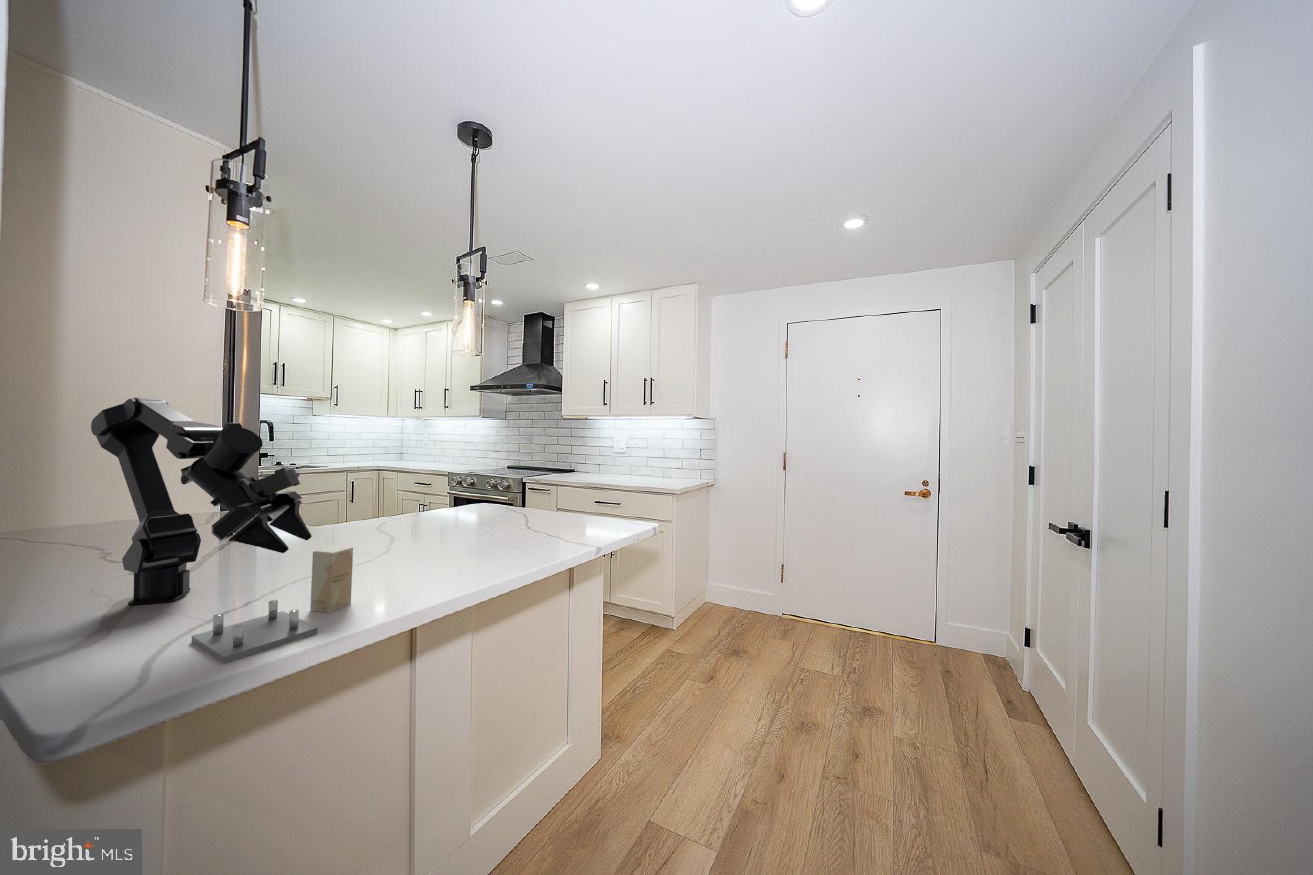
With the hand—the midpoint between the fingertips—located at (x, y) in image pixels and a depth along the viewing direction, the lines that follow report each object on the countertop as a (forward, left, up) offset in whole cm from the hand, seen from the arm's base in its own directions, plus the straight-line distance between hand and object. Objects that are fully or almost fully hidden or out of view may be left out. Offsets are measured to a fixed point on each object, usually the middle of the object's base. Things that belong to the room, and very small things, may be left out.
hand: (298, 544), depth 87 cm
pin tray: (-3, -12, -12) cm, 17 cm away
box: (+5, -1, -12) cm, 13 cm away
